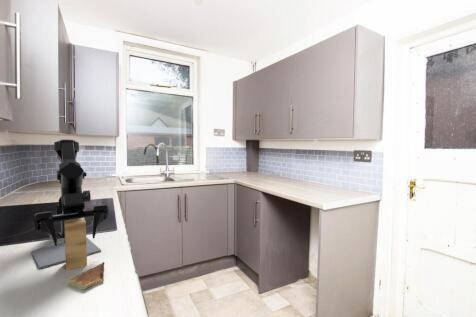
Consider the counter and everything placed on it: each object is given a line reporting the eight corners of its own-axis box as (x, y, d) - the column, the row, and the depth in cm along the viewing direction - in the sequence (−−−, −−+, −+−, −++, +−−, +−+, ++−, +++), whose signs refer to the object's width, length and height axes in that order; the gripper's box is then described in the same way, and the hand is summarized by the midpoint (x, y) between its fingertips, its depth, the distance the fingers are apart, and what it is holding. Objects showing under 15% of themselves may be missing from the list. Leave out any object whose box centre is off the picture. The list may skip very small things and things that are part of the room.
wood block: (65, 263, 72) (64, 220, 72) (85, 258, 75) (84, 217, 75) (66, 270, 68) (64, 225, 68) (87, 265, 71) (85, 221, 71)
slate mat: (31, 251, 80) (31, 250, 80) (86, 238, 91) (86, 237, 91) (39, 269, 69) (39, 267, 69) (101, 251, 80) (101, 250, 80)
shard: (104, 266, 72) (103, 260, 71) (123, 271, 69) (123, 265, 69) (66, 286, 61) (66, 279, 61) (88, 293, 59) (88, 286, 59)
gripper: (33, 185, 69) (31, 235, 60) (106, 180, 80) (114, 221, 72) (35, 207, 75) (35, 254, 67) (103, 199, 87) (110, 239, 78)
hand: (75, 241), depth 71 cm, fingers open, 9 cm apart
